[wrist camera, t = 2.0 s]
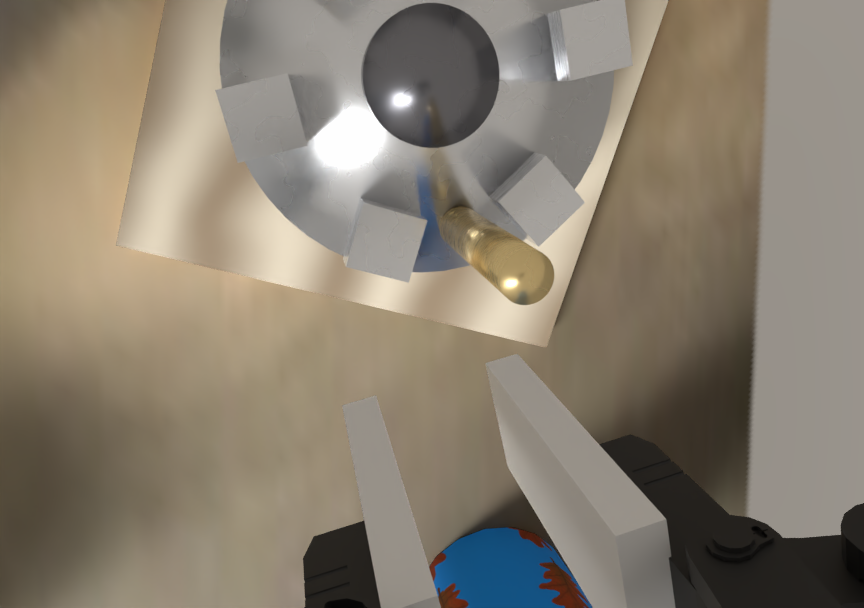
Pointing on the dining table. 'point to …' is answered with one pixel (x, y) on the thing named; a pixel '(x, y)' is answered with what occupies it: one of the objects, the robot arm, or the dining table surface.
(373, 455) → the robot arm
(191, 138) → the birch base board
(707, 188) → the dining table surface
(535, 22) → the metal lathe chuck
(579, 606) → the thermos
